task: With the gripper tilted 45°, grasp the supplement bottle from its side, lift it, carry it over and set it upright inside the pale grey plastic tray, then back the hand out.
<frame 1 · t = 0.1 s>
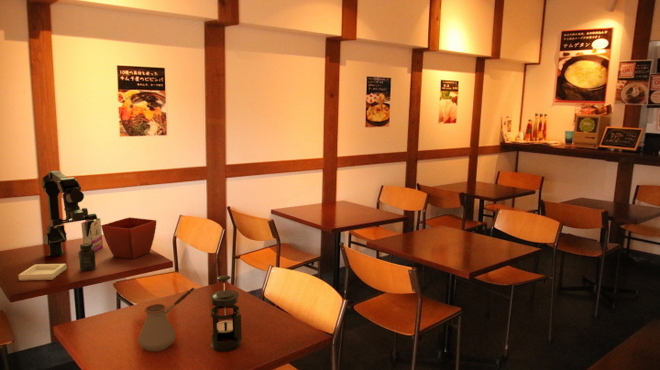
hand: (76, 238, 223), 15 cm above the table, tool pointing down, fingers open, 9 cm apart
tray: (43, 274, 221), on the table
coffee pot: (170, 340, 161), on the table
supplement bottle: (88, 269, 228), on the table
candy bar box: (93, 250, 257), on the table
plant pot: (131, 255, 250), on the table
french press: (227, 345, 157), on the table
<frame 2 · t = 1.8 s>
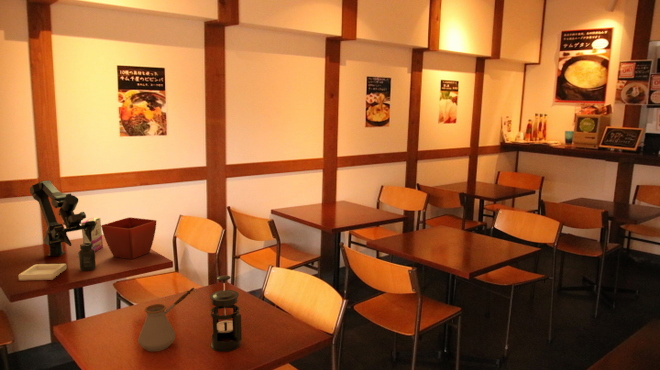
hand: (81, 243, 229), 11 cm above the table, tool tilted 45°, fingers open, 9 cm apart
nothing on the table moved.
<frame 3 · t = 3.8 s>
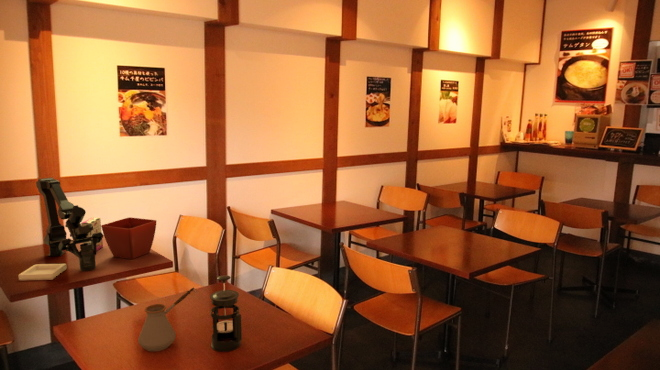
hand: (88, 256, 226), 7 cm above the table, tool tilted 45°, fingers closed on supplement bottle, 7 cm apart
supplement bottle: (88, 269, 228), on the table, touching gripper
everything else where it was.
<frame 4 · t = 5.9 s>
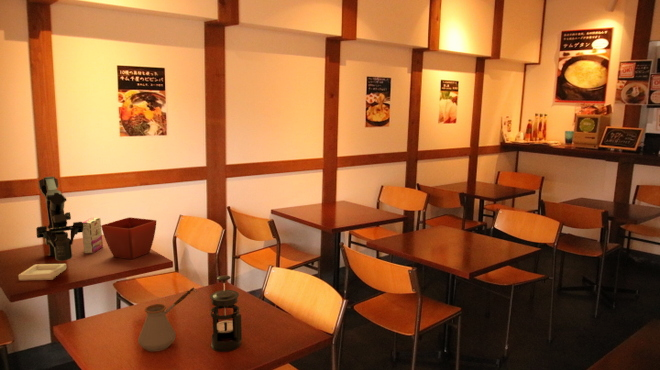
hand: (63, 245, 220), 13 cm above the table, tool tilted 45°, fingers closed on supplement bottle, 7 cm apart
supplement bottle: (63, 259, 222), point 6 cm above the table, touching gripper
everything else where it was.
when the fingers open (8 cm above the table, at t = 8.3 s): supplement bottle stays where it is, resting on tray.
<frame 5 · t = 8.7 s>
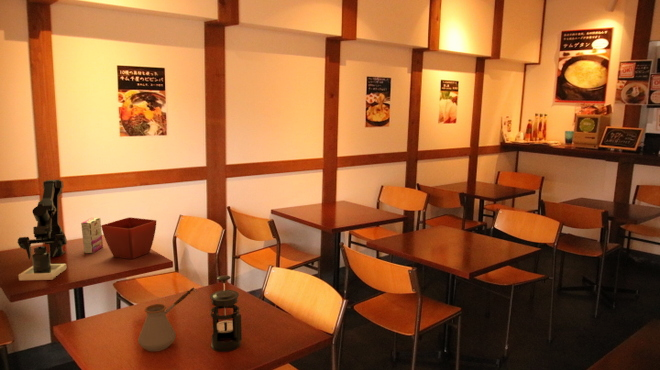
hand: (41, 257, 218), 8 cm above the table, tool tilted 45°, fingers open, 9 cm apart
supplement bottle: (42, 273, 221), resting on tray
everything else where it was.
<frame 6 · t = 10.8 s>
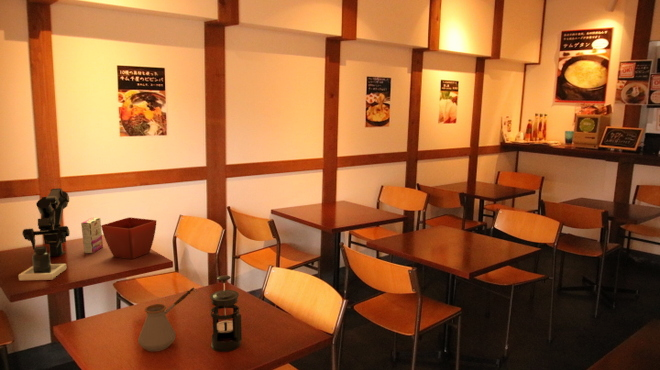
hand: (45, 248, 227), 10 cm above the table, tool tilted 45°, fingers open, 9 cm apart
nothing on the table moved.
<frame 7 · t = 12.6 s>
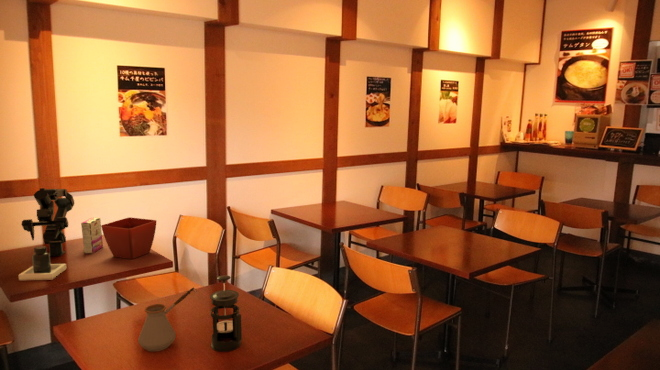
hand: (44, 239, 228), 14 cm above the table, tool tilted 45°, fingers open, 9 cm apart
nothing on the table moved.
at the end: supplement bottle 0.4 cm off-centre on the tray, point 0.4 cm above the tray's base; supplement bottle tilted 0°; the gripper is holding nothing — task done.
